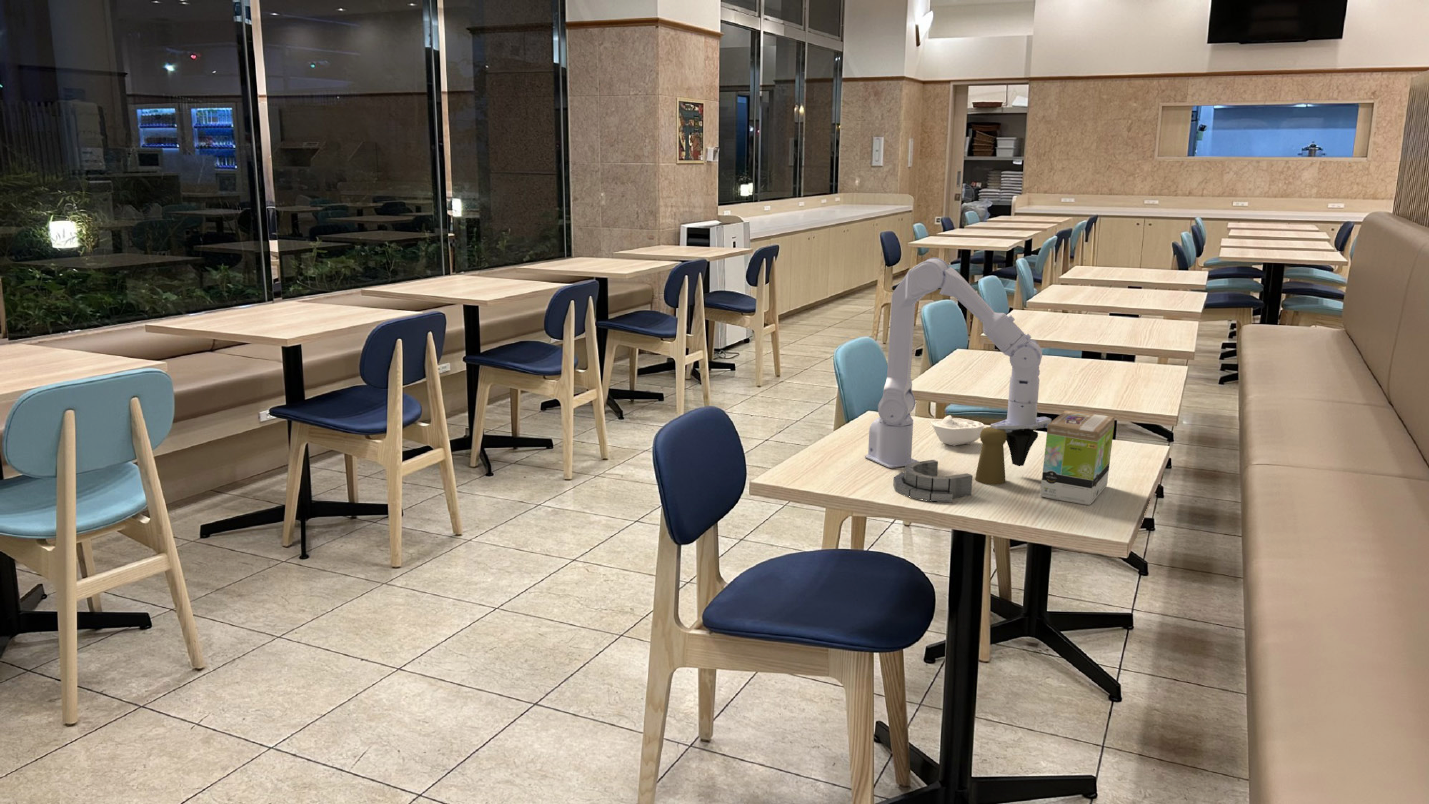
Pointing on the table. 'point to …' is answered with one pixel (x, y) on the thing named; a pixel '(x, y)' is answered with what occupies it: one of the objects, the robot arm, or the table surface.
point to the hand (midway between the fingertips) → (1017, 464)
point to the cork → (991, 457)
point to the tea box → (1077, 457)
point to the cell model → (957, 430)
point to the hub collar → (931, 483)
